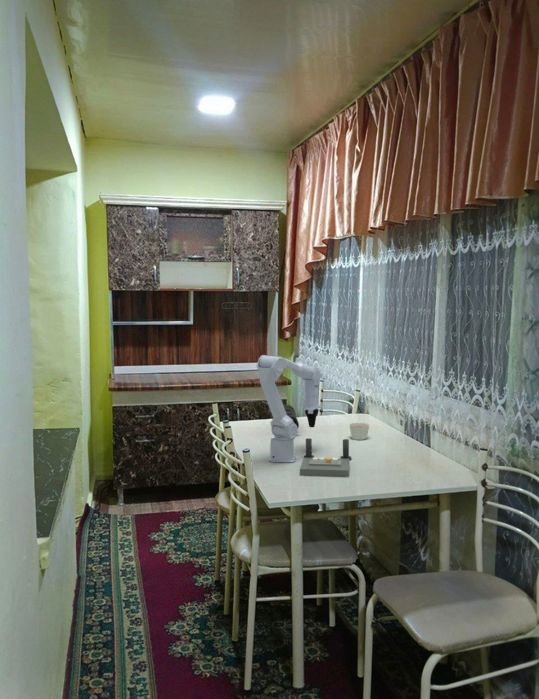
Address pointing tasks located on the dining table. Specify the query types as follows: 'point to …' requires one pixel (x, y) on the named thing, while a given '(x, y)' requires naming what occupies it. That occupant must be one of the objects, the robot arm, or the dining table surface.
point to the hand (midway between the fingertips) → (311, 426)
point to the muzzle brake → (291, 413)
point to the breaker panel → (325, 467)
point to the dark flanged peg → (345, 450)
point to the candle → (359, 430)
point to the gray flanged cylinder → (308, 448)
